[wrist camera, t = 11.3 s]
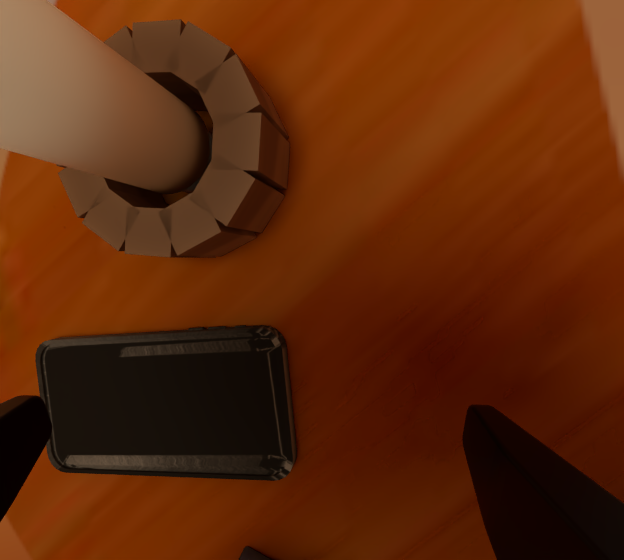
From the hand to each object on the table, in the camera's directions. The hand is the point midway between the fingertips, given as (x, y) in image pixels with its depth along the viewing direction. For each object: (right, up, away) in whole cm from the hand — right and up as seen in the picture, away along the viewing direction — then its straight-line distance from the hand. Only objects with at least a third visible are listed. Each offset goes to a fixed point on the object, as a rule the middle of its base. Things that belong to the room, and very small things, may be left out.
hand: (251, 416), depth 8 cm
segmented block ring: (-4, +9, +11) cm, 15 cm away
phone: (-7, -4, +13) cm, 15 cm away
